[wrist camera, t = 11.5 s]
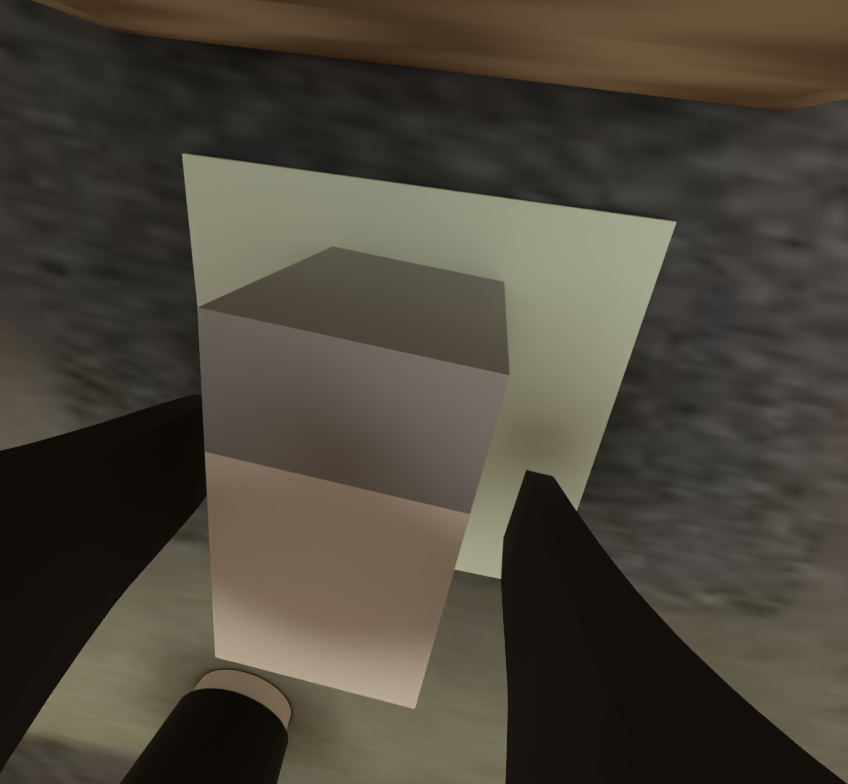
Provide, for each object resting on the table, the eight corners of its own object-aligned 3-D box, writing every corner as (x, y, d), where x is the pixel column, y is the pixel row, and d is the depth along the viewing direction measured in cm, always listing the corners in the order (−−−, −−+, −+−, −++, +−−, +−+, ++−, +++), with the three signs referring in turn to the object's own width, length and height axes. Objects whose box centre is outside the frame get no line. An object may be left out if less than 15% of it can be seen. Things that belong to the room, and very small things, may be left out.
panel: (226, 512, 17) (219, 521, 17) (194, 154, 12) (182, 153, 11) (548, 577, 16) (550, 588, 16) (668, 219, 11) (676, 221, 11)
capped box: (313, 489, 15) (215, 657, 10) (332, 246, 12) (197, 306, 7) (443, 520, 15) (414, 709, 10) (504, 281, 12) (509, 375, 6)
